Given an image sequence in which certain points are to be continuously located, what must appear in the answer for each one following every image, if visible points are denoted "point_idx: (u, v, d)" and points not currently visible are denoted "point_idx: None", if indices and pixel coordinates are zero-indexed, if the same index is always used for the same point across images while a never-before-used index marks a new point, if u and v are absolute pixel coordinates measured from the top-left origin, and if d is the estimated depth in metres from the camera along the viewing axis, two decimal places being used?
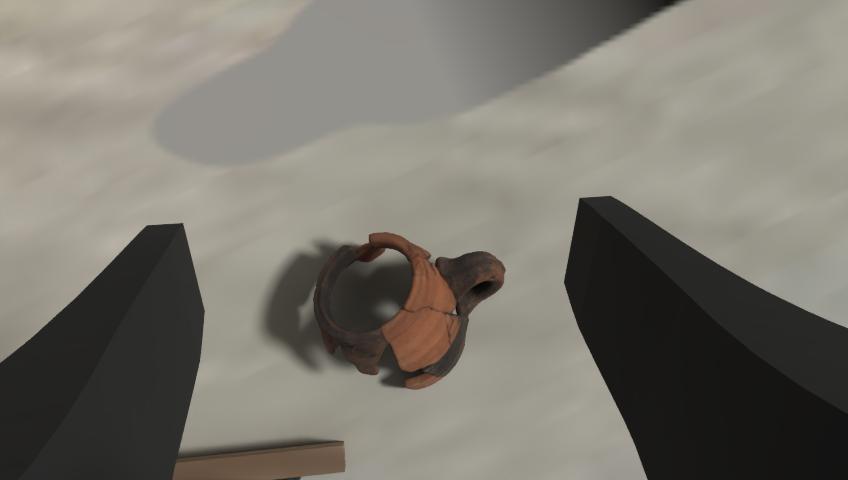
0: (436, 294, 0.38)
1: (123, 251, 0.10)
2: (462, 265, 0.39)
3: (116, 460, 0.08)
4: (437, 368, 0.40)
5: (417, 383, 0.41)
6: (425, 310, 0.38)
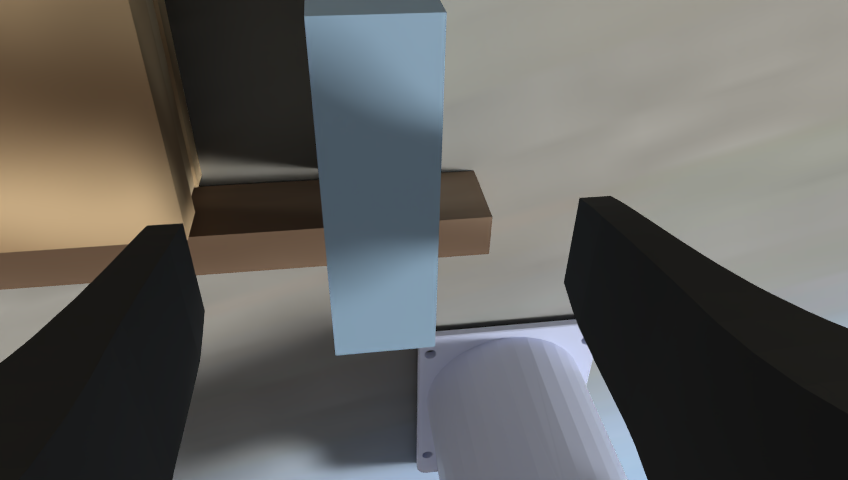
0: None
1: (123, 251, 0.10)
2: None
3: (116, 460, 0.08)
4: None
5: None
6: None
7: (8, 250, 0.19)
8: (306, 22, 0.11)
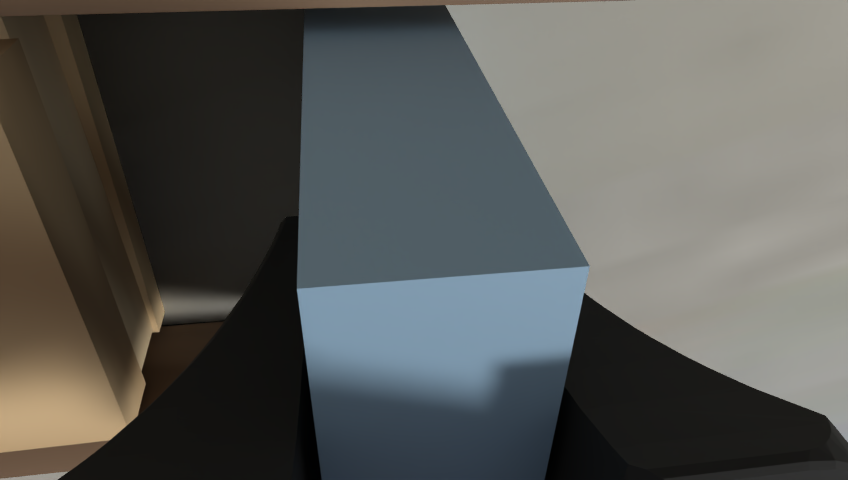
0: None
1: (278, 240, 0.10)
2: None
3: (312, 439, 0.08)
4: None
5: None
6: None
7: None
8: (302, 296, 0.05)
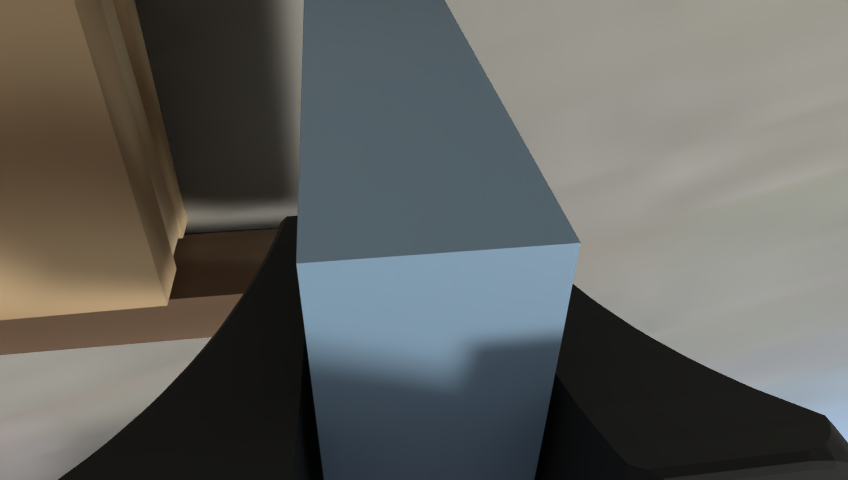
0: None
1: (278, 240, 0.10)
2: None
3: (311, 439, 0.08)
4: None
5: None
6: None
7: None
8: (301, 271, 0.05)
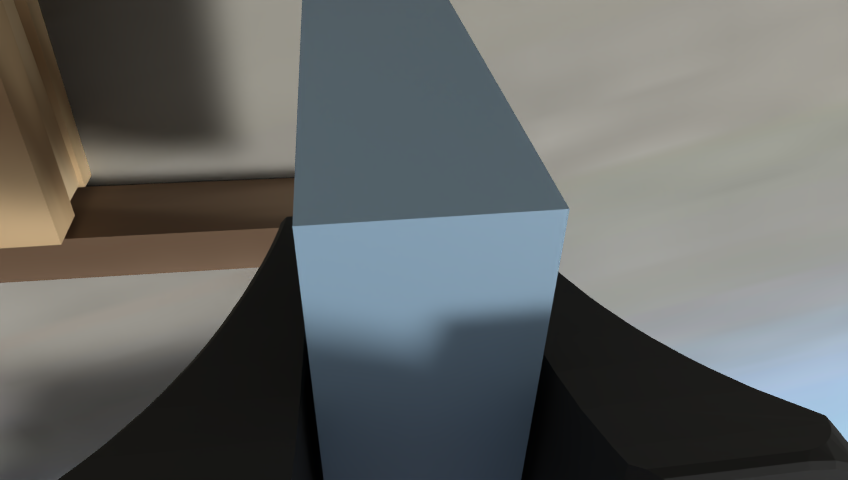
0: None
1: (278, 240, 0.10)
2: None
3: (311, 439, 0.08)
4: None
5: None
6: None
7: None
8: (297, 235, 0.06)
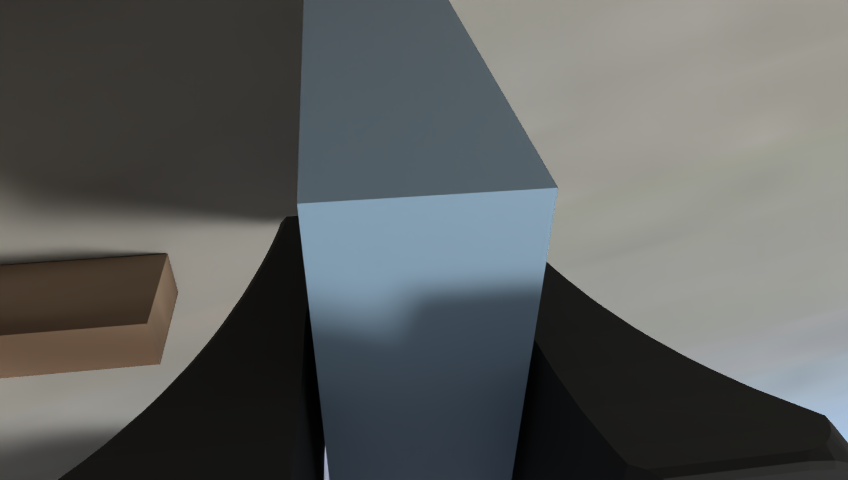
0: None
1: (278, 240, 0.10)
2: None
3: (311, 439, 0.08)
4: None
5: None
6: None
7: None
8: (301, 212, 0.06)
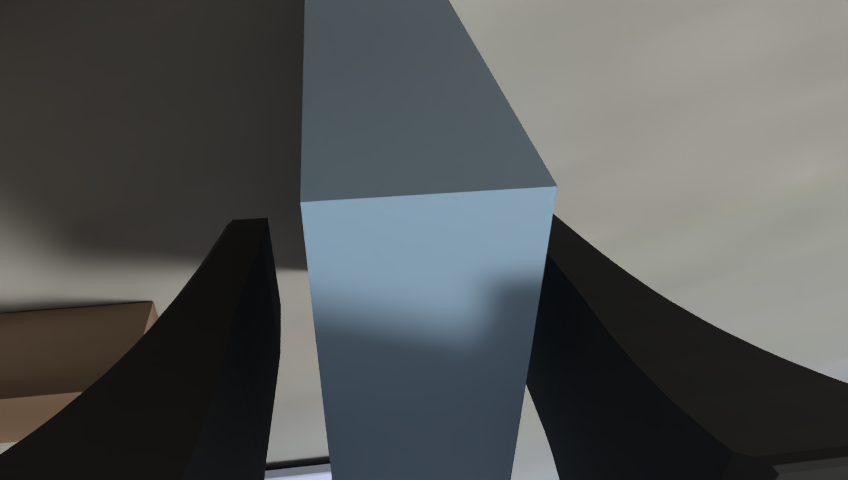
0: None
1: (218, 245, 0.10)
2: None
3: (236, 448, 0.08)
4: None
5: None
6: None
7: None
8: (304, 210, 0.06)
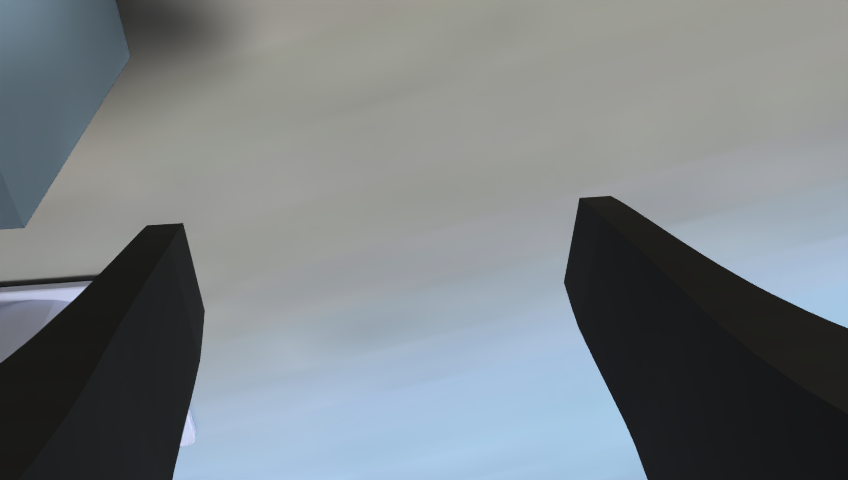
0: None
1: (123, 251, 0.10)
2: None
3: (117, 461, 0.08)
4: None
5: None
6: None
7: None
8: None
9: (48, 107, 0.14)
